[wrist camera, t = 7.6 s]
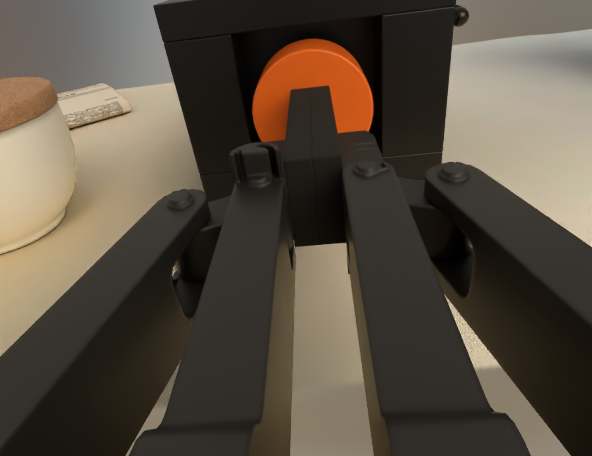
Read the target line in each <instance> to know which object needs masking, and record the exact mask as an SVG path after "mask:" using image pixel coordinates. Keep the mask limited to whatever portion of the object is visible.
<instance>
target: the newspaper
mask: <svg viewBox="0 0 592 456" xmlns="http://www.w3.org/2000/svg"><path fill="white" fill-rule="evenodd" d="M57 96H58V101H57V102H58V104H59V106H60V108H61V111H62V113H63V115H64V117H65V120H66V123H67V125H68V128H69V129H70V128H74V127H77V126H81V125H84V124H88V123H92V122H95V121H99V120H102V119H106V118H109V117H113V116H117V115H120V114H124V113H127V112H131V106H130V104H129V103H128V101H127V100H126V99H125V98H124V97H123V96H121V95H120V94H119V93H118V92H116V91H115V90H114V89H113V88H111V87H109V86H108V85H106V84H104V83H101V84H97V85H94V86H89V87H85V88H81V89H77V90H72V91H69V92H64V93H60V94H57Z"/></svg>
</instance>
